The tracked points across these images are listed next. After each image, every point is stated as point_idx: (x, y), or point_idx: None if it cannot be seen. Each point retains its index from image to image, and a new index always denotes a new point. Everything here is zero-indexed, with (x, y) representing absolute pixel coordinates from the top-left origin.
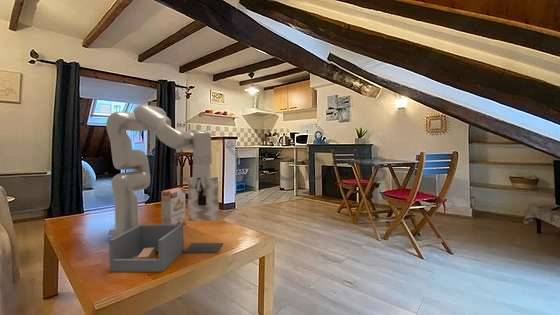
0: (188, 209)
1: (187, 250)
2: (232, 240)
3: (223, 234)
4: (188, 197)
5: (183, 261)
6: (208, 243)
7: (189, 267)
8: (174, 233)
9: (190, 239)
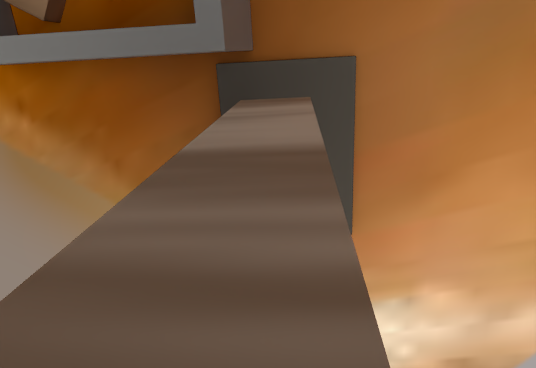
0: (218, 120)
1: (235, 81)
2: (408, 263)
3: (527, 193)
4: (166, 173)
5: (124, 112)
6: (344, 161)
7: (76, 164)
8: (59, 60)
9: (453, 3)
